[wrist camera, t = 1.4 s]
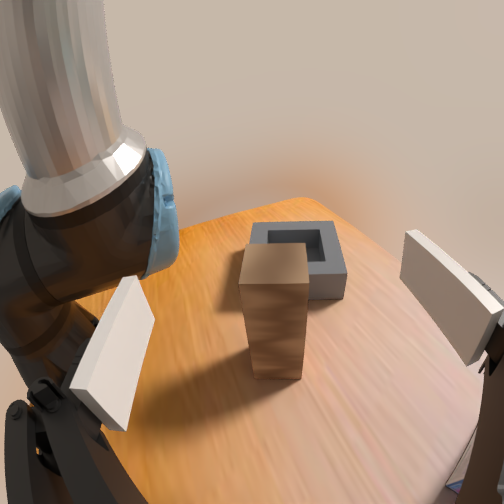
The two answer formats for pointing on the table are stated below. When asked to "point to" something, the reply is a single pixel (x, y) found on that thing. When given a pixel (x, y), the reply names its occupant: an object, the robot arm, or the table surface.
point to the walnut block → (275, 307)
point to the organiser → (310, 253)
